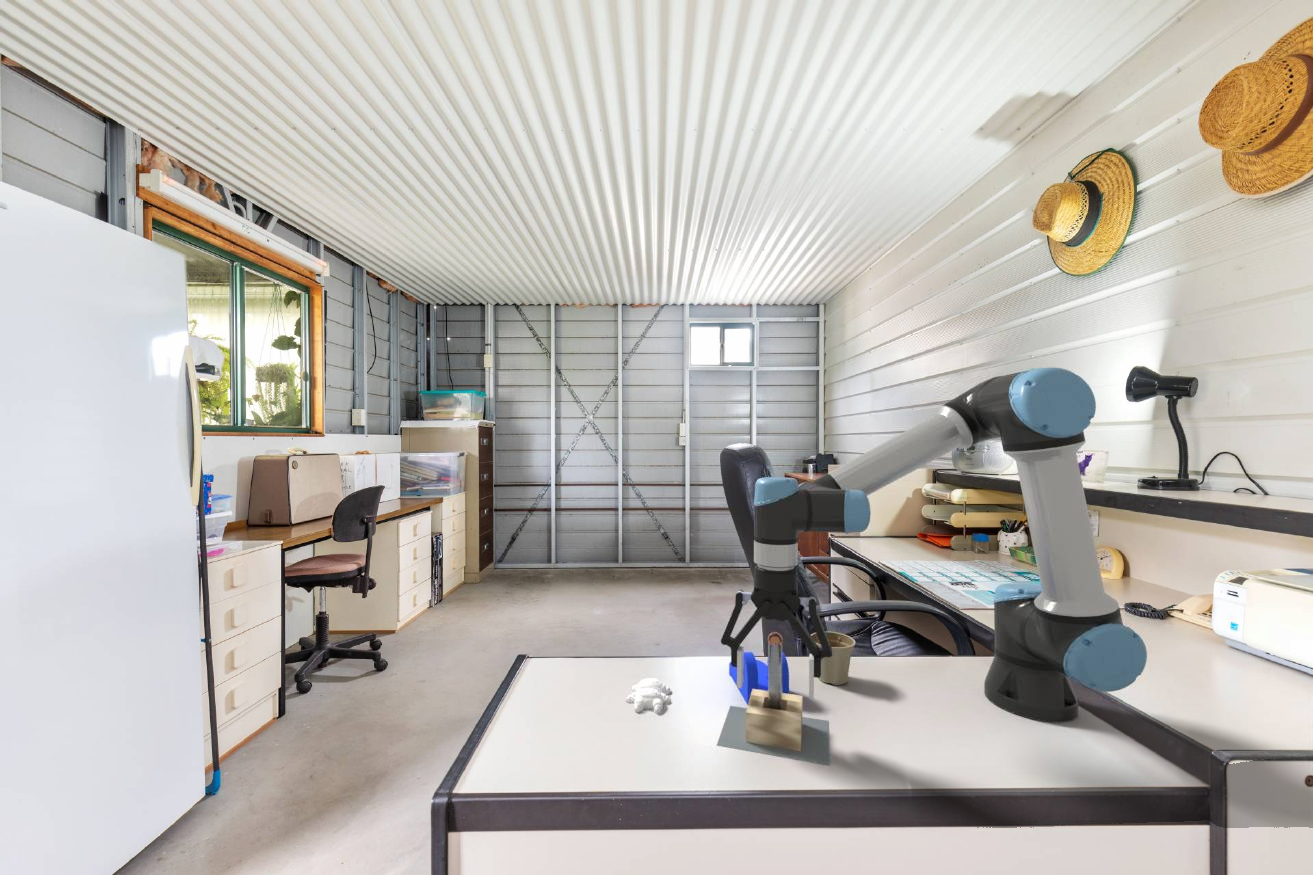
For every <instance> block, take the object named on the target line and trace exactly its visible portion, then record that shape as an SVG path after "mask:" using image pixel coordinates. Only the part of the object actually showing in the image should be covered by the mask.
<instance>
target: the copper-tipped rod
mask: <svg viewBox="0 0 1313 875" xmlns="http://www.w3.org/2000/svg"><path fill="white" fill-rule="evenodd" d="M767 643H768V646H767V650H768V652H767V653H768V654H767V655H768V656H767V661H768V708H769V709H776V710H782V652H783V643H784V638H783V636H782V635H781V634H780V633H779V632H777V631H772V632H770V633H769V634H768V636H767Z"/></svg>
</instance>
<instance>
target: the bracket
mask: <svg viewBox="0 0 1313 875" xmlns="http://www.w3.org/2000/svg"><path fill="white" fill-rule="evenodd" d="M728 671H729V672H728V674H729V677H731V679H732V681H733V682H734V684H735V686H736V687H737V667H732V665H731V661H730V662H729V664H728ZM789 671H790V670H789V665H788V659H787V657H786V655H785V653H784V652H783V651H782V693H786V694H790V672H789ZM737 689H738V691H739V693H740V695H741V697H742V698H743V699H744V701H745V704H746V705H747V706H748V703H749V699H750V696H751V692H752V689H758V690H765V691H768V660H767V663H765V662H763V661H761V660H759V659H756V656H755V654H754V653H753V652H752V651H747V652H745V651H744V653H743V685H742V688H737Z"/></svg>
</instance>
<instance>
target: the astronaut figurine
mask: <svg viewBox="0 0 1313 875" xmlns="http://www.w3.org/2000/svg"><path fill="white" fill-rule="evenodd" d="M670 694H671V688H670V687H669V686H668V685H666V684H665V683H664V682H663V681H662V680H660V679H658V678H653V677H651V678H650V677H648V678H643V679H642V680H640V681H639V682H638V683H637V684H634V685H632V687H631V693H630V694H629V695H627V697H626V700H625V702H626V703H629V704H630V703H631V704H632V703H633V710H634V712H635V714H636V713H642V712H643V710H645V709H647V710H648V709H649V710H653V713H654V714H655V715H660V714H661V713H662V711H663V709H664V708H663V707H664V704H666V705H669V704H671V702H672V698H671V697H670V696H669V695H670Z"/></svg>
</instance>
